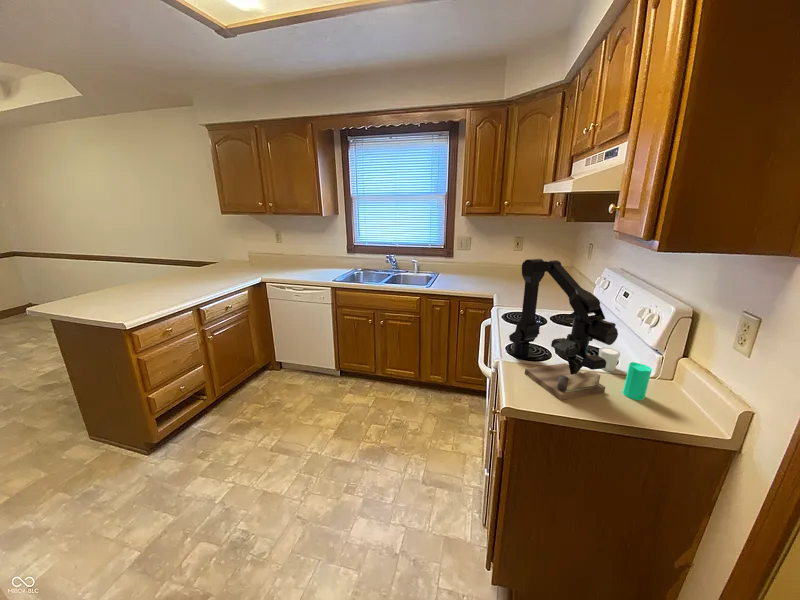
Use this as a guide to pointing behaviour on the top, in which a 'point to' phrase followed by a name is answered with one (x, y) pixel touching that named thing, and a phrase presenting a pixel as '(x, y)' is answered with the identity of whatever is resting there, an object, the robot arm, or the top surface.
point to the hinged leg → (578, 380)
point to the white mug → (609, 358)
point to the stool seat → (549, 381)
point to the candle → (637, 381)
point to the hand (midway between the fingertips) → (572, 375)
